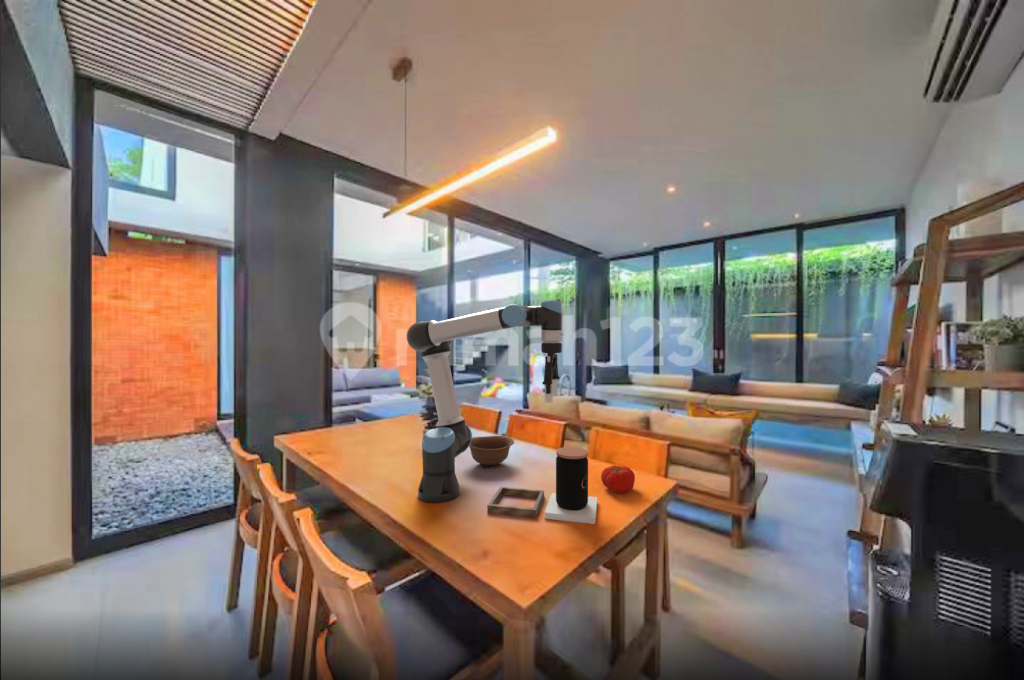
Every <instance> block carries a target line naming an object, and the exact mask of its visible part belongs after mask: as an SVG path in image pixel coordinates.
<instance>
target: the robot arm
mask: <svg viewBox="0 0 1024 680" xmlns="http://www.w3.org/2000/svg"><path fill="white" fill-rule="evenodd" d="M562 311H563V310H562V302H561V301H560V300H557V299H546V300H541V303H540V305H536V306H535V305H521V304H519V303H511V304H507V305H505V306H504V307H498V308H495V309H494V308H493V309H489V310H484V311H481V312H476V313H471V314H467V315H463V316H459V317H454V318H449V319H444V320H440V321H437V320H434V319H432V320H428V321H427V320H426V321H418V322H414V323H413V324H412V325H410V327H409V328H408V329H407V333H406V341H407V344H408V345H409V346H410V348H411V349H412V350H414V351H416V352H420V355H421V359H423V360H425V361H426V364H427V368H428V375H429V378H430V384H431V388H432V393H433V399H434V404H435V408H436V412H437V413H436V414H437V418H438V421H436V424H435V428H431V429H429V430H427V431H426V432H425V433H423V436H422V442H421V448H422V477H421V480H420V483H419V485H418V489H417V497H418V499H420V500H421V501H423V502H426V503H427V502H428V503H444V502H449V501H451V500H455V499H457V498H458V497H459V496H460V493H461V491H460V489H461V488H460V487H461V486H460V484H459V481H458V478H457V475H456V472H455V471H456V466H455V465H456V464H455V463H456V458H457V457H458V456H459V455H460V454H462V453H464V452H465V451H466V450H468V448H470V447H469V445H470V444H471V441H472V437H473V432H472V429H471V428H470V426H469V425H468V424H466V419H465V417H464V416H462V415H461V413H460V410H459V405H458V404H459V403H458V399H457V393H456V390H455V389H456V388H455V385H454V379H453V376H452V371H451V366H450V361H449V355H450V354H451V352H452V351H451V346H450V345H451V343H452V341H454V340H459V339H464V338H468V337H473V336H476V335H477V336H478V335H481V334H486V333H491V332H496V331H499V330H507V329H511V328H518V327H541V330H540V341H541V346H540V347H541V348H540V351H541V353H542V354H547V355H546V356H545V357H544V359H545V360H544V361H545V362H544V373H543V374H544V375H543V381H542V385H544V403H546V404H547V403H548V404H549V403H550V404H553V400H554V399H553V398H554V397H558V395H559V393H558V392H559V387H558V385H559V383H558V382H559V381H558V380H560V378H561V377H560V376H559V365H558V354H561V353H562V351H563V349H562V346H563V344H562V338H563V336H564V333H562V330H563V329H562V327H563V325H562V324H563V323H562V322H563V312H562Z"/></svg>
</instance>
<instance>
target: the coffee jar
mask: <svg viewBox="0 0 1024 680" xmlns="http://www.w3.org/2000/svg"><path fill="white" fill-rule="evenodd" d="M555 453H556V458H555V493H556V502H557V504H558V505H559V506H560V507H561V508H563V509H566V510H575V511H576V510H581V509H583V508H585V507H586V505H587V503H588V496H589V459H588V455H589V452H588V450H587V449H584V448H582V447H576V446H565V447H559V448H557V449H556V450H555Z"/></svg>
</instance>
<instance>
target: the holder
mask: <svg viewBox="0 0 1024 680" xmlns="http://www.w3.org/2000/svg"><path fill="white" fill-rule="evenodd" d="M503 495H504V496H512V497H524V498H534V499H536V500H535V503H534V505H533V507H532V508H531V507H525V506H513V505H505V504H504V505H503V504H498V503H499V501H500V500H501V498H502V497H503ZM544 499H545V490H543V489H542V490H541V489H532V488H520V487H519V488H518V487H511V486H501V485H500V487H498V490H496V492H495V493H494V495H493V496H492V498H491V499H490V501H489V502H488V504H487V505H486V506H487V508H486V509H487V511H486V512H487V513H488V514H495V515H496V514H498V515H507V516H514V517H515V516H516V517H523V518H524V517H525V518H534V519H536V518H537V517H538V513H539V511H540V508H541V506H542V504H543V502H544Z"/></svg>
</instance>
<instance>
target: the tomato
mask: <svg viewBox="0 0 1024 680" xmlns="http://www.w3.org/2000/svg"><path fill="white" fill-rule="evenodd" d="M600 479H601V483H602V484H603V486H604V487H606V488H608V489H609V490H610V491H612V492H613V493H616V494H617V493H620V494H627V493H630V492H631V491H633V488H634V484H635V481H636V480H635V479H636V476H635V473H634V471H633V470H632V469H631V468H630V467H628V466H625V465H623V466H621V465H611V466H608V467H606V468H604V469H603V470H602V472H601V476H600Z"/></svg>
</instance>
